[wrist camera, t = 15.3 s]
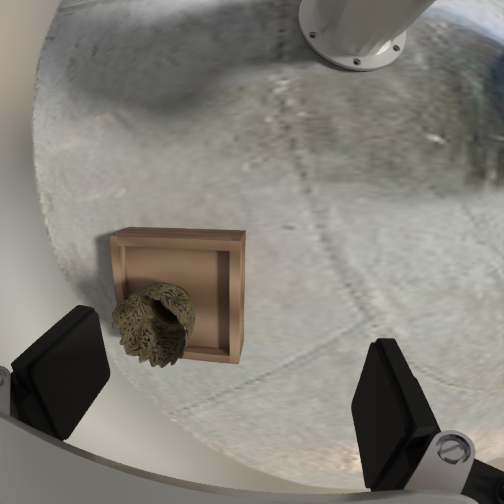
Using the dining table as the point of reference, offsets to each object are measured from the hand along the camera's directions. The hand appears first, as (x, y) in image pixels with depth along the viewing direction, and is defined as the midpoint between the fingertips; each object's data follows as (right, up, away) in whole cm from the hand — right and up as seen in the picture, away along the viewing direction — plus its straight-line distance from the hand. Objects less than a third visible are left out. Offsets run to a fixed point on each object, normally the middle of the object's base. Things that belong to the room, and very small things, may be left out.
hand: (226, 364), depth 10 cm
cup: (-7, -1, +24) cm, 25 cm away
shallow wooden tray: (-7, 0, +28) cm, 29 cm away
